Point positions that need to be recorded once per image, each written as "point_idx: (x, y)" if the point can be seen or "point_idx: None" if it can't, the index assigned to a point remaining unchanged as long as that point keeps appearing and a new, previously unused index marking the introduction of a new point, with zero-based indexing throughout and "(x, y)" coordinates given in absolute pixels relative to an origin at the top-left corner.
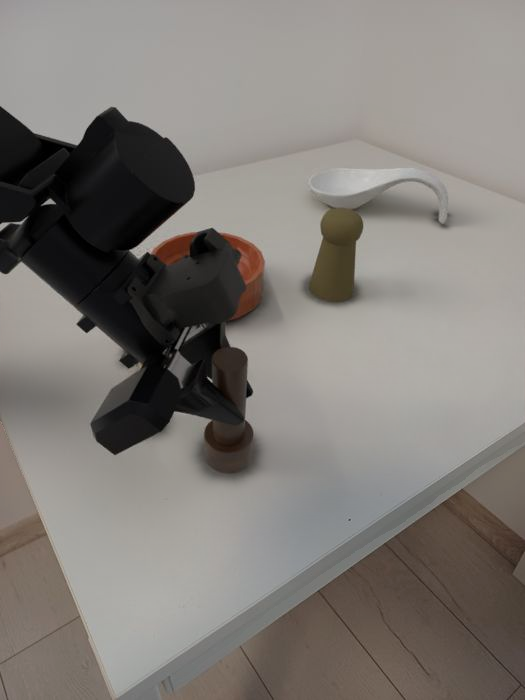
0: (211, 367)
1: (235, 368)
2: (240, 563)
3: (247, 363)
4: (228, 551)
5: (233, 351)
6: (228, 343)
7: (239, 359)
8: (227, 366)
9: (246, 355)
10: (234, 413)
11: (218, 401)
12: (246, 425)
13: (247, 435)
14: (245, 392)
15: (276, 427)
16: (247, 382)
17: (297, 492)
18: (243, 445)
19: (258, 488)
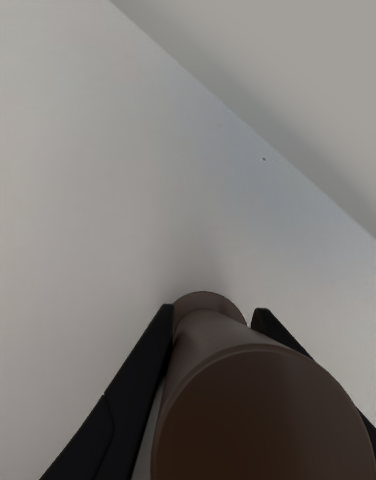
0: (146, 476)
1: (341, 406)
2: (357, 278)
3: (251, 340)
4: (347, 296)
5: (198, 457)
6: (51, 472)
7: (257, 397)
8: (343, 465)
9: (211, 359)
10: (293, 337)
11: (359, 411)
12: (179, 308)
13: (202, 302)
14: (229, 320)
15: (134, 263)
16: (158, 323)
17: (241, 221)
18: (225, 305)
19: (248, 273)
